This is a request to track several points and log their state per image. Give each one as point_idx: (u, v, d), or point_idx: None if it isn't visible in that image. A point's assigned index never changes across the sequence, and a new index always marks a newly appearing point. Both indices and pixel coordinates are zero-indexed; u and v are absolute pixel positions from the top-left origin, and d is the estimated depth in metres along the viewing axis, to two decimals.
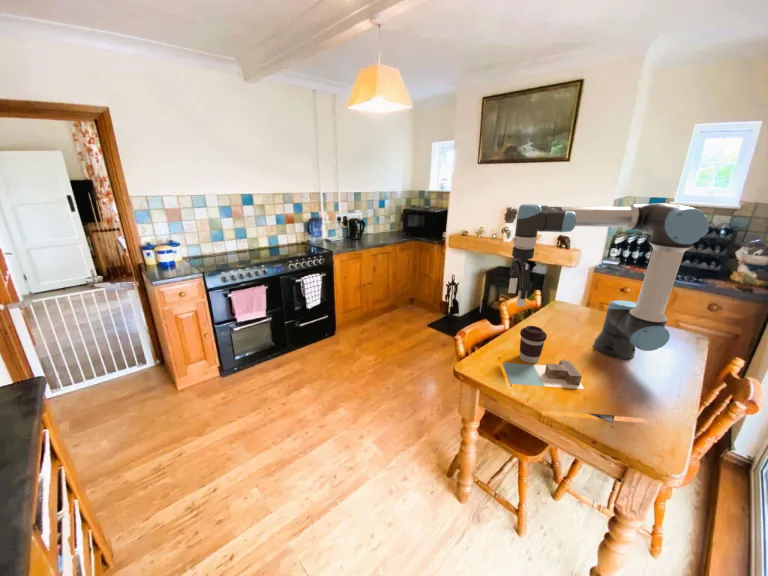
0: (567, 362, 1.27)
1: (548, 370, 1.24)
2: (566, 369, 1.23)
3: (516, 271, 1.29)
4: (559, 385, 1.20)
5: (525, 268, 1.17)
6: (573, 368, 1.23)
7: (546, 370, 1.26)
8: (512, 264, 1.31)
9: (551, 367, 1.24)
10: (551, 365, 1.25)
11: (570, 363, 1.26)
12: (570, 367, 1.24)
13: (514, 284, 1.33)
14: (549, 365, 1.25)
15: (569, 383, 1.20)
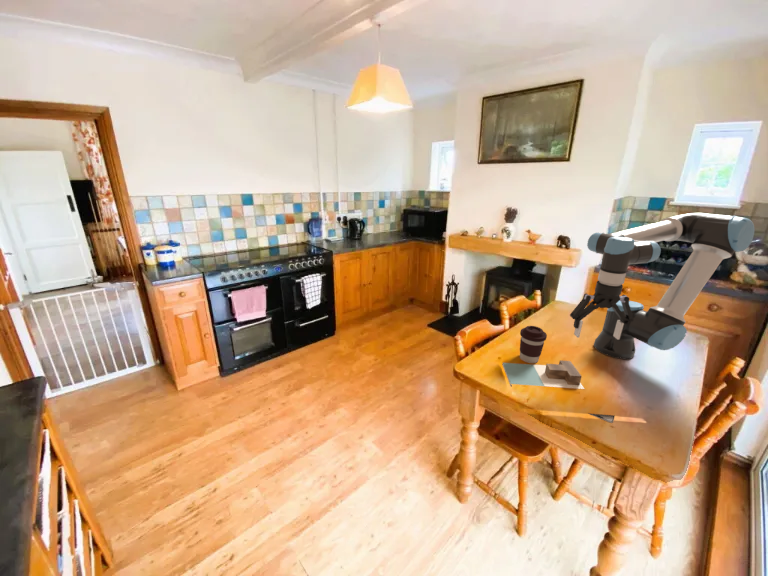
0: (567, 362, 1.27)
1: (548, 370, 1.24)
2: (566, 369, 1.23)
3: (615, 312, 1.14)
4: (559, 385, 1.20)
5: (584, 298, 1.14)
6: (573, 368, 1.23)
7: (546, 370, 1.26)
8: None
9: (551, 367, 1.24)
10: (551, 365, 1.25)
11: (570, 363, 1.26)
12: (570, 367, 1.24)
13: (618, 328, 1.16)
14: (549, 365, 1.25)
15: (569, 383, 1.20)
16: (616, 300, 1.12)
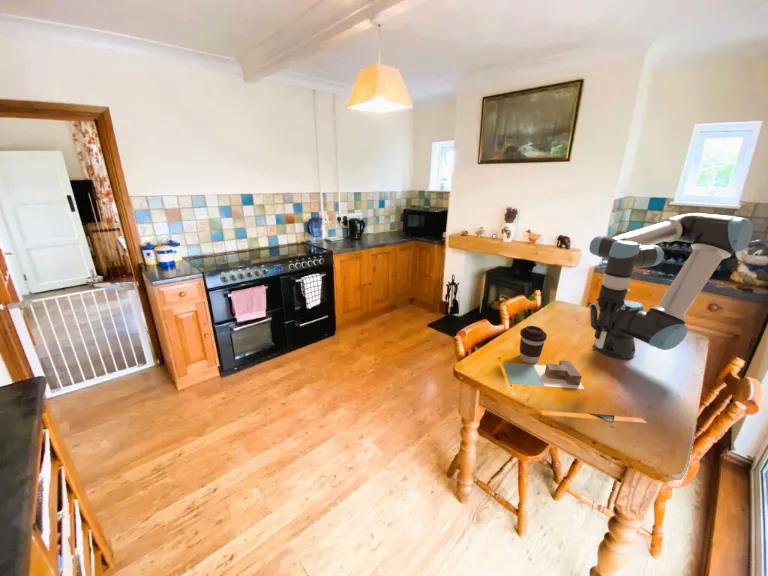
0: (567, 362, 1.27)
1: (548, 370, 1.24)
2: (566, 369, 1.23)
3: (607, 317, 1.15)
4: (559, 385, 1.20)
5: (590, 308, 1.15)
6: (573, 368, 1.23)
7: (546, 370, 1.26)
8: None
9: (551, 367, 1.24)
10: (551, 365, 1.25)
11: (570, 363, 1.26)
12: (570, 367, 1.24)
13: None
14: (549, 365, 1.25)
15: (569, 383, 1.20)
16: (620, 304, 1.11)
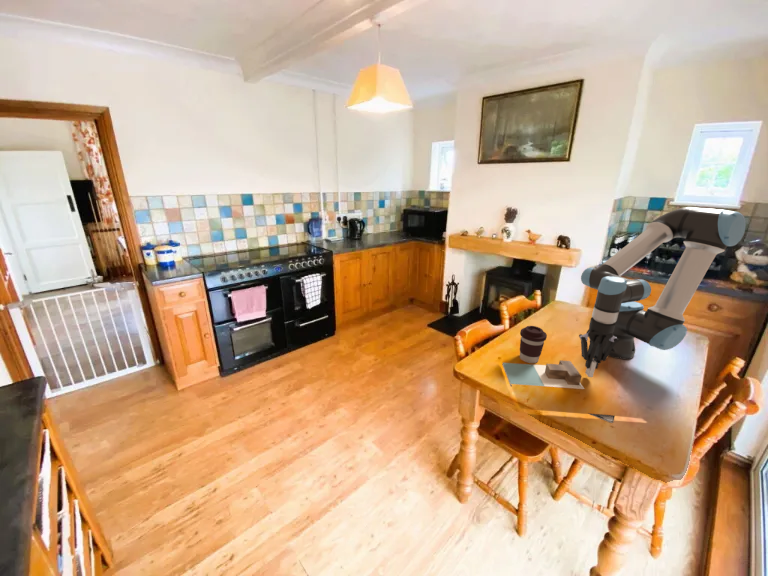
0: (567, 362, 1.27)
1: (548, 370, 1.24)
2: (566, 369, 1.23)
3: (597, 348, 1.19)
4: (559, 385, 1.20)
5: (581, 339, 1.19)
6: (573, 368, 1.23)
7: (546, 370, 1.26)
8: None
9: (551, 367, 1.24)
10: (551, 365, 1.25)
11: (570, 363, 1.26)
12: (570, 367, 1.24)
13: None
14: (549, 365, 1.25)
15: (569, 383, 1.20)
16: (609, 336, 1.16)
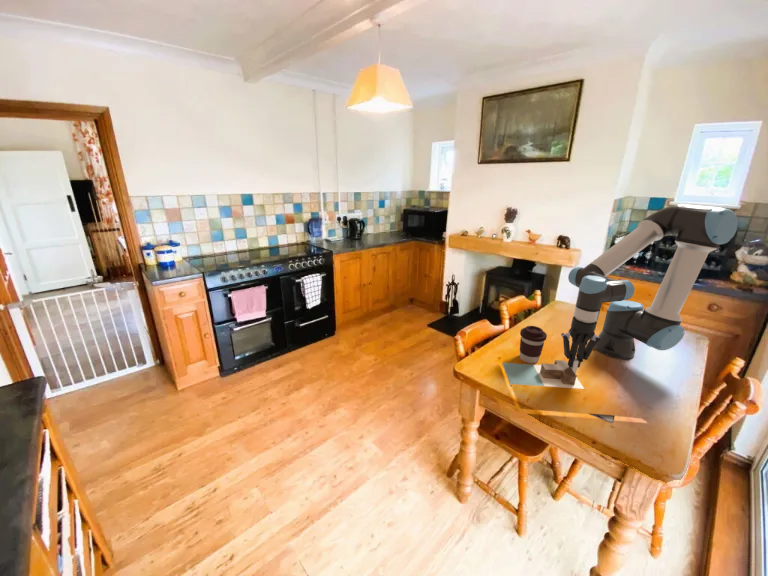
0: (562, 361, 1.27)
1: (543, 370, 1.24)
2: (561, 369, 1.23)
3: (579, 347, 1.20)
4: (559, 385, 1.20)
5: (563, 338, 1.20)
6: (568, 368, 1.23)
7: (541, 370, 1.26)
8: None
9: (546, 366, 1.24)
10: (546, 365, 1.25)
11: (565, 363, 1.26)
12: (565, 366, 1.24)
13: None
14: (544, 365, 1.25)
15: (564, 383, 1.20)
16: (590, 335, 1.16)
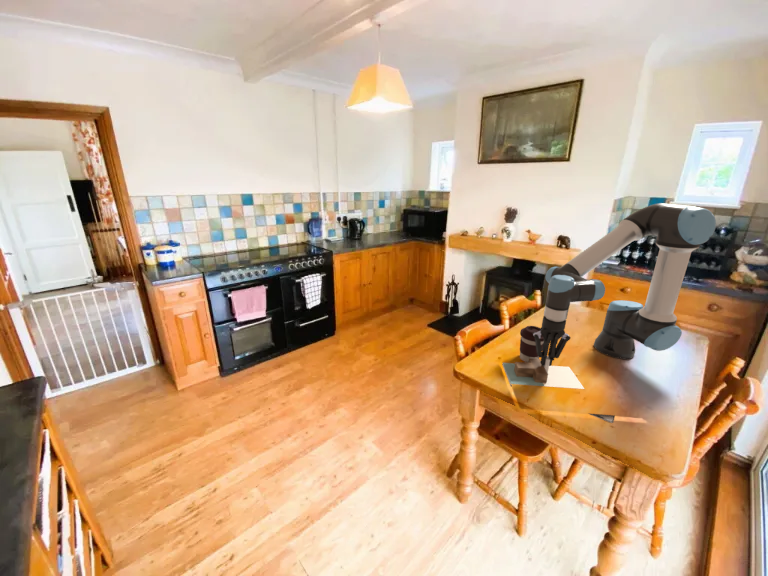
0: (536, 360, 1.28)
1: (516, 369, 1.25)
2: (534, 367, 1.24)
3: (551, 346, 1.21)
4: (559, 385, 1.20)
5: None
6: (541, 366, 1.24)
7: (515, 368, 1.27)
8: None
9: (519, 365, 1.25)
10: (520, 363, 1.26)
11: (539, 361, 1.28)
12: (538, 364, 1.25)
13: None
14: (518, 363, 1.26)
15: (536, 381, 1.22)
16: (560, 333, 1.18)
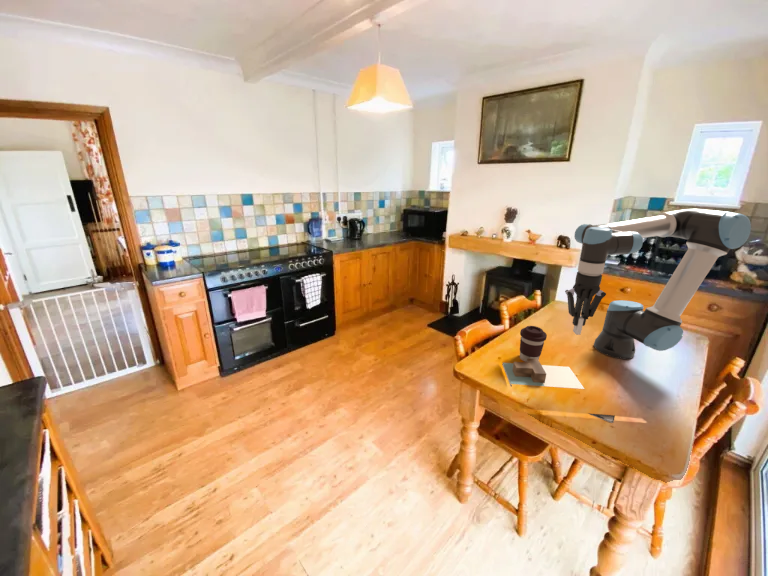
0: (534, 360, 1.29)
1: (515, 368, 1.25)
2: (532, 367, 1.24)
3: (584, 304, 1.16)
4: (559, 385, 1.20)
5: (567, 295, 1.15)
6: (539, 366, 1.25)
7: (513, 368, 1.27)
8: None
9: (517, 365, 1.25)
10: (518, 363, 1.26)
11: (537, 361, 1.28)
12: (536, 364, 1.25)
13: None
14: (516, 363, 1.26)
15: (534, 381, 1.22)
16: (595, 290, 1.12)
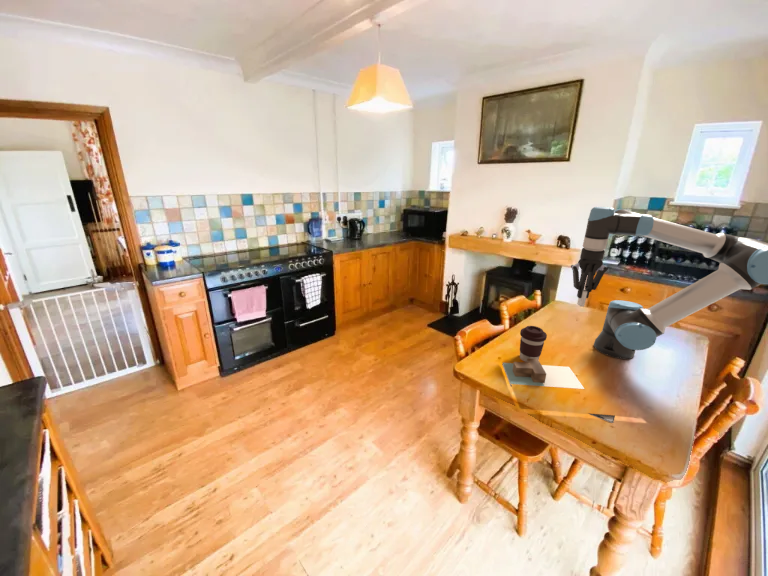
0: (534, 360, 1.29)
1: (515, 368, 1.25)
2: (532, 367, 1.24)
3: (588, 278, 1.27)
4: (559, 385, 1.20)
5: (572, 269, 1.27)
6: (539, 366, 1.25)
7: (513, 368, 1.27)
8: None
9: (517, 365, 1.25)
10: (518, 363, 1.26)
11: (537, 361, 1.28)
12: (536, 364, 1.25)
13: None
14: (516, 363, 1.26)
15: (534, 381, 1.22)
16: (598, 264, 1.24)
